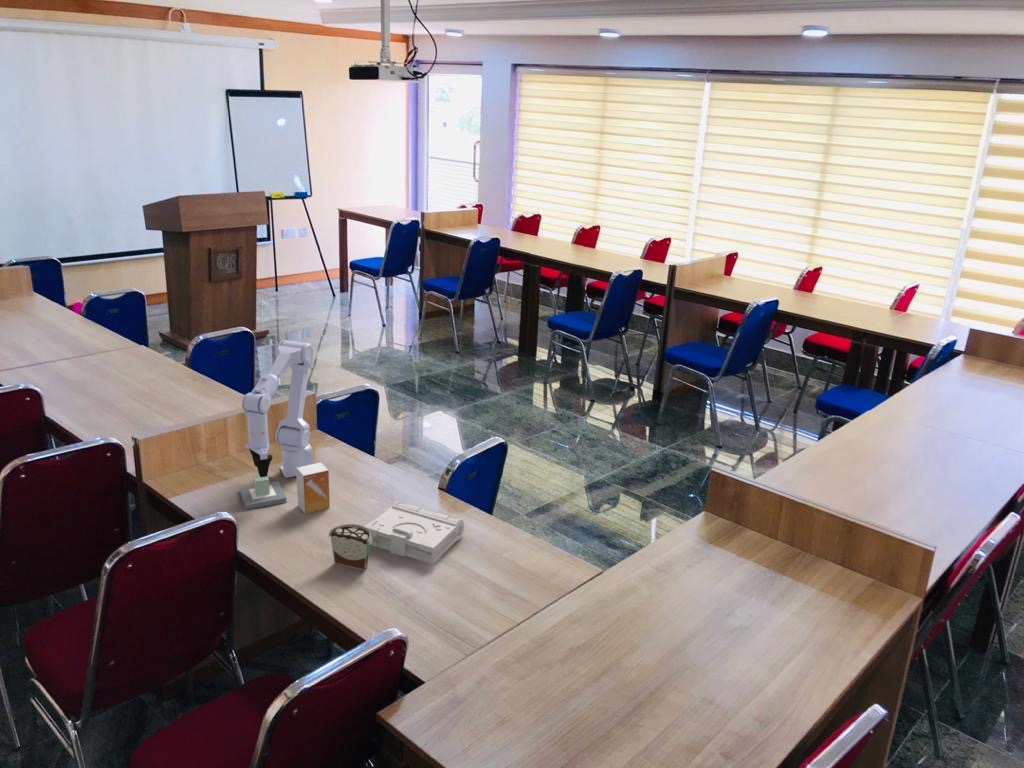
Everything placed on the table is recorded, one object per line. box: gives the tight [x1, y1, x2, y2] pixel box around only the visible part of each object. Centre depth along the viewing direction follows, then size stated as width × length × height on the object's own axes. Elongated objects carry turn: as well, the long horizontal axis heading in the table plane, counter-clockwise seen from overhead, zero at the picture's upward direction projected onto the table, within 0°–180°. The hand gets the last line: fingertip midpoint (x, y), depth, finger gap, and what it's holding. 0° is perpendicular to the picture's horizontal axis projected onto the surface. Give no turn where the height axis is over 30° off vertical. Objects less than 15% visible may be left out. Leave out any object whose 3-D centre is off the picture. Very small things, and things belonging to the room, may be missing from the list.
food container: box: [328, 523, 372, 571], centre depth 228 cm, size 12×6×10 cm, turn 71°
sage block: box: [252, 474, 270, 496], centre depth 260 cm, size 4×4×5 cm
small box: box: [295, 462, 331, 514], centre depth 255 cm, size 8×6×13 cm
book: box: [364, 500, 465, 566], centre depth 241 cm, size 19×28×8 cm
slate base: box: [238, 480, 288, 510], centre depth 261 cm, size 12×12×2 cm
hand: (261, 471), depth 258 cm, fingers open, 7 cm apart
